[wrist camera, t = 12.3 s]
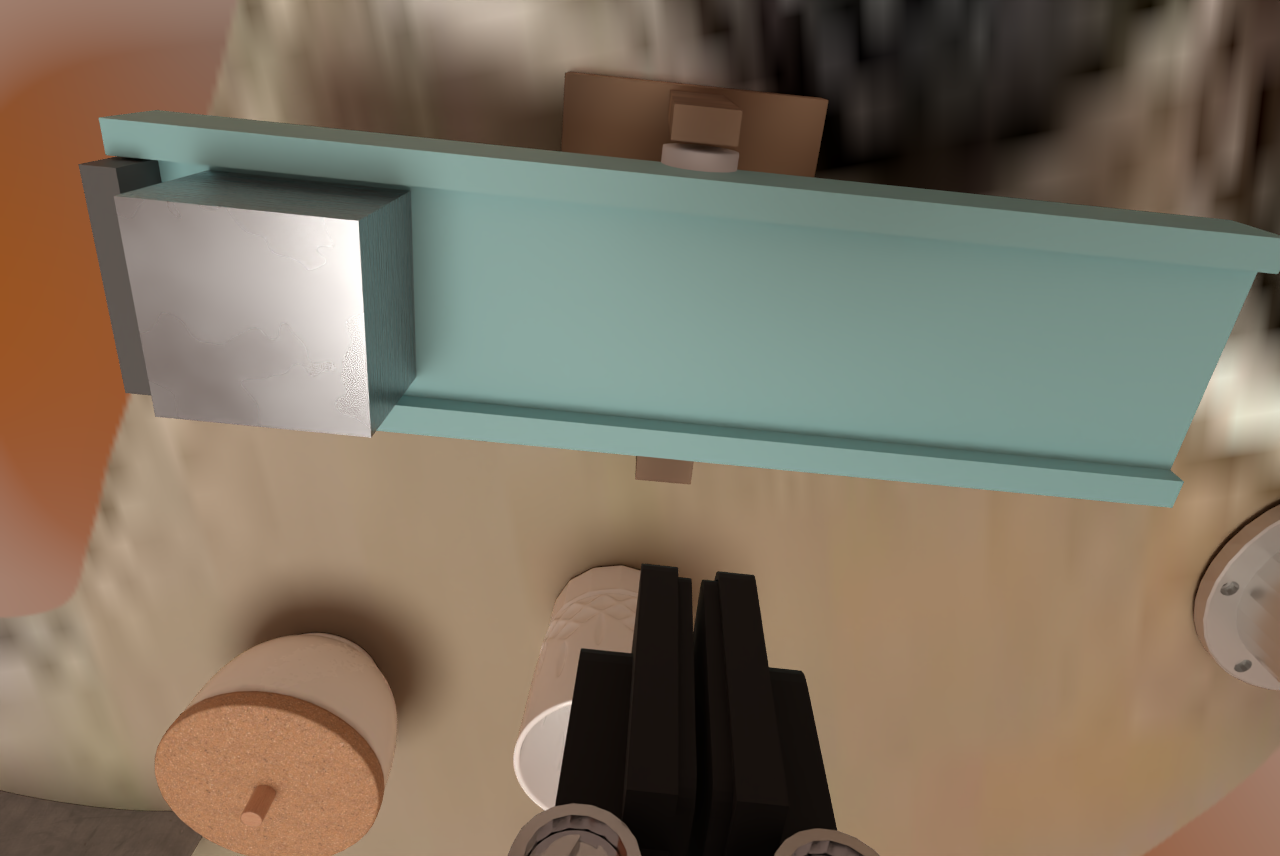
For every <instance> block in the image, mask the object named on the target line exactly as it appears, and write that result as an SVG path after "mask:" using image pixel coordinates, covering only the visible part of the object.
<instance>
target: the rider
mask: <svg viewBox="0 0 1280 856" xmlns="http://www.w3.org/2000/svg"><path fill="white" fill-rule="evenodd" d="M114 201H115V206H116V211H117V216H118V222H119V227H120V232H121V238H122V243H123V248H124V253H125V259H126V264H127V269H128V274H129V280H130V285H131V290H132V296H133V301H134V306H135V311H136V317H137V322H138V327H139V333H140V338H141V343H142V348H143V354H144V359H145V364H146V370H147V375H148V380H149V385H150V391H151V396H152V401H153V406H154V412H155V417H165V418H176V419H186V420H196V421H206V422H217V423H227V424H237V425H247V426H258V427H268V428H278V429H289V430H299V431H309V432H319V433H330V434H340V435H350V436H361V437H372V436H373V434H374V433H375V432H376V430H377V429H378V428H379V426H380V425H381V424H382V422H383V421H384V420H385V418H386V417H387V416H388V414H389V413H390V412H391V410H392V409H393V408H394V406H395V405H396V404H397V402H398V401H399V400H400V398H401V397H402V396H403V394H404V393H405V392H406V390H407V389H408V388H409V386H410V385H411V384H412V382H413V381H414V380H415V378H416V344H415V311H414V277H413V244H412V211H411V191H410V190H400V189H390V188H380V187H371V186H361V185H351V184H341V183H332V182H322V181H312V180H302V179H293V178H283V177H273V176H263V175H253V174H244V173H234V172H224V171H214V170H206V171H203V172H199V173H195V174H192V175H188V176H184V177H181V178H177V179H174V180H170V181H166V182H163V183H159V184H155V185H152V186H148V187H145V188H141V189H137V190H134V191H130V192H126V193H123V194H119V195H116V196H114Z"/></svg>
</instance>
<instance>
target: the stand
mask: <svg viewBox="0 0 1280 856" xmlns="http://www.w3.org/2000/svg"><path fill="white" fill-rule="evenodd" d="M827 106H828V100H826V99H823V98H817V97H808V96H798V95H788V94H779V93H769V92H759V91H750V90H740V89H730V88H721V87H711V86H701V85H692V84H682V83H672V82H663V81H653V80H643V79H634V78H624V77H614V76H605V75H595V74H585V73H576V72H567V73H565V85H564V106H563V127H562V147H561V152H570V153H579V154H589V155H599V156H609V157H618V158H628V159H638V160H648V161H657V162H661V158H662V148H663V144H668V143H684V144H697V145H706V146H714V147H720V148H725V149H730V150H734V151H737V152H739V160H738V167H737V170H745V171H755V172H765V173H775V174H784V175H794V176H804V177H815V171H816V166H817V160H818V155H819V149H820V144H821V138H822V133H823V128H824V122H825V117H826V111H827ZM693 463H694V461H685V460H675V459H665V458H654V457H644V456H636V474H635V479H636V480H647V481H658V482H669V483H680V484H691V477H692V470H693Z"/></svg>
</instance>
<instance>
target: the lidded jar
mask: <svg viewBox="0 0 1280 856" xmlns="http://www.w3.org/2000/svg"><path fill="white" fill-rule="evenodd" d="M397 729H398V724H397V711H396V705H395V701H394V697H393V694H392V692H391V689H390V687H389V685H388V682H387V680H386V679H385V677H384V676H383V674H382V673H381V671H380V670H379V669H378V667H377V665H376V663H375V662H374V661H373V659H372V658H371V656H370V655H369V654H368V653H367V652H366V651H365V650H363V649H362V648H361V647H360V646H358V645H357V644H355V643H353V642H352V641H350V640H347V639H345V638H343V637H340V636H337V635H333V634H328V633H305V634H300V635H290V636H284V637H279V638H275V639H272V640H269V641H266V642H263V643H260V644H258V645H256V646H254V647H252V648H250V649H248V650H246V651H245V652H243V653H241V654H239V655H238V656H237V657H235V658H234V659H233V660H231V661H230V662H229V663H227V664H226V665H225V666H224V667H223V668H222V669H220V670H219V671H218V672H217V673H216V674H215V675H214V676H213V677H212V678H211V679H210V680H209V681H208V682H207V683H206V684H205V686H204V687H203V688H202V689H201V690H200V691H199V692H198V694H197V695H196V696H195V697H194V699H193V700H192V701H191V703H190V704H189V705H188V706H187V708H186V709H185V711H184V712H183V713H181V714H180V716H179V717H178V718H177V719H176V720H175V721H174V723H173V724H172V725H171V726H170V727H169V729H168V730H167V731H166V733H165V734H164V736H163V738H162V740H161V741H160V743H159V745H158V748H157V752H156V756H155V775H156V779H157V783H158V786H159V789H160V791H161V793H162V796H163V798H164V799H165V801H166V802H167V803H168V805H169V806H170V808H171V809H172V810H173V811H174V812H175V814H176V815H177V816H178V817H179V818H180V819H181V820H182V821H183V822H184V823H185V824H187V825H188V826H189V827H190V828H192V829H193V830H194V831H196V832H197V833H199V834H200V835H202V836H203V837H205V838H206V839H208V840H210V841H212V842H214V843H216V844H218V845H220V846H222V847H224V848H227V849H229V850H232V851H234V852H237V853H240V854H244V855H248V856H331V855H333V854H336V853H338V852H340V851H343V850H345V849H346V848H348V847H350V846H351V845H353V844H355V843H356V842H358V841H359V840H360V839H361V838H362V837H363V836H364V835H365V834H366V833H367V832H368V831H369V829H370V828H371V827H372V825H373V824H374V821H375V819H376V817H377V815H378V812H379V809H380V807H381V804H382V800H383V794H384V789H385V786H386V783H387V780H388V777H389V774H390V770H391V767H392V762H393V757H394V752H395V747H396V742H397Z"/></svg>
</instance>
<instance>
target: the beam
mask: <svg viewBox="0 0 1280 856" xmlns="http://www.w3.org/2000/svg"><path fill="white" fill-rule="evenodd" d="M99 122H100V127H101V132H102V138H103V143H104V147H105V153H106V155H111V156H117V157H112V158H108V159H103V160H98V161H93V162H88V163H83V164H79V169H80V173H81V178H82V183H83V188H84V193H85V198H86V203H87V207H88V212H89V217H90V222H91V227H92V232H93V237H94V242H95V246H96V251H97V256H98V260H99V266H100V270H101V275H102V280H103V285H104V290H105V294H106V300H107V304H108V309H109V315H110V319H111V324H112V329H113V334H114V339H115V343H116V349H117V353H118V358H119V363H120V368H121V372H122V378H123V383H124V387H125V392H126V393H132V394H142V395H151V391H150V385H149V380H148V375H147V370H146V364H145V359H144V354H143V348H142V343H141V338H140V333H139V327H138V322H137V317H136V311H135V306H134V301H133V296H132V290H131V285H130V280H129V274H128V269H127V264H126V259H125V253H124V248H123V243H122V238H121V232H120V227H119V222H118V216H117V211H116V206H115V201H114V196H116V195H119V194H123V193H126V192H130V191H134V190H137V189H141V188H145V187H148V186H152V185H155V184H159V183H163V182H166V181H170V180H174V179H177V178H181V177H184V176H188V175H192V174H195V173H199V172H203V171H206V170H214V171H224V172H234V173H244V174H253V175H263V176H273V177H283V178H293V179H302V180H312V181H322V182H332V183H341V184H351V185H361V186H371V187H380V188H390V189H400V190H410V191H411V211H412V244H413V277H414V311H415V344H416V378H415V380H414V381H413V382H412V384H411V385H410V386H409V388H408V389H407V390H406V392H405V393H404V394H403V396H402V397H401V398H400V400H399V401H398V402H397V404H396V405H395V406H394V408H393V409H392V410H391V412H390V413H389V414H388V416H387V417H386V418H385V420H384V421H383V422H382V424H381V425H380V426H379V428H378V429H377V430H376V431H386V432H396V433H406V434H417V435H427V436H437V437H448V438H458V439H468V440H479V441H489V442H499V443H510V444H520V445H530V446H541V447H551V448H561V449H572V450H582V451H592V452H603V453H613V454H623V455H634V456H644V457H654V458H665V459H675V460H685V461H695V462H706V463H716V464H726V465H737V466H747V467H757V468H768V469H778V470H788V471H799V472H809V473H819V474H830V475H840V476H850V477H861V478H871V479H881V480H892V481H902V482H912V483H923V484H933V485H943V486H954V487H964V488H974V489H985V490H995V491H1005V492H1015V493H1026V494H1036V495H1046V496H1057V497H1067V498H1077V499H1088V500H1098V501H1108V502H1119V503H1129V504H1139V505H1150V506H1160V507H1170V508H1172V507H1173V505H1174V503H1175V501H1176V498H1177V496H1178V494H1179V492H1180V490H1181V487H1182V485H1183V483H1184V481H1182V480H1181V479H1180V478H1179V477H1178V476H1176V475H1175V474H1174V473H1173V472H1172V471H1171V470H1170V469H1171V467H1172V465H1173V463H1174V460H1175V458H1176V456H1177V453H1178V451H1179V449H1180V447H1181V444H1182V442H1183V440H1184V438H1185V435H1186V433H1187V431H1188V428H1189V426H1190V424H1191V422H1192V419H1193V417H1194V415H1195V413H1196V410H1197V408H1198V406H1199V403H1200V401H1201V399H1202V397H1203V394H1204V392H1205V390H1206V388H1207V385H1208V383H1209V381H1210V378H1211V376H1212V374H1213V372H1214V369H1215V367H1216V365H1217V363H1218V360H1219V358H1220V356H1221V354H1222V351H1223V349H1224V347H1225V344H1226V342H1227V340H1228V338H1229V335H1230V333H1231V331H1232V329H1233V326H1234V324H1235V322H1236V319H1237V317H1238V315H1239V313H1240V310H1241V308H1242V306H1243V304H1244V301H1245V299H1246V297H1247V294H1248V292H1249V290H1250V288H1251V285H1252V283H1253V281H1254V279H1255V276H1256V274H1257V272H1264V273H1273V274H1278V273H1279V271H1280V235H1277V234H1274V233H1270V232H1267V231H1264V230H1261V229H1258V228H1254V227H1251V226H1248V225H1245V224H1241V223H1238V222H1235V221H1232V220H1224V219H1214V218H1204V217H1195V216H1185V215H1175V214H1165V213H1156V212H1146V211H1136V210H1126V209H1117V208H1107V207H1097V206H1087V205H1077V204H1068V203H1058V202H1048V201H1038V200H1029V199H1019V198H1009V197H999V196H990V195H980V194H970V193H960V192H950V191H941V190H931V189H921V188H911V187H902V186H892V185H882V184H872V183H863V182H853V181H843V180H833V179H824V178H814V177H804V176H794V175H784V174H775V173H765V172H755V171H745V170H737V167H738V160H739V152H737V151H734V150H730V149H725V148H720V147H714V146H706V145H697V144H684V143H668V144H663V148H662V158H661V162H657V161H648V160H638V159H628V158H618V157H609V156H599V155H589V154H579V153H570V152H560V151H550V150H540V149H531V148H521V147H511V146H501V145H491V144H482V143H472V142H462V141H452V140H443V139H433V138H423V137H413V136H404V135H394V134H384V133H374V132H364V131H355V130H345V129H335V128H325V127H316V126H306V125H296V124H286V123H277V122H267V121H257V120H247V119H238V118H228V117H218V116H208V115H198V114H188V113H179V112H169V111H159V110H155V111H146V112H139V113H131V114H123V115H116V116H109V117H100V118H99Z"/></svg>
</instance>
